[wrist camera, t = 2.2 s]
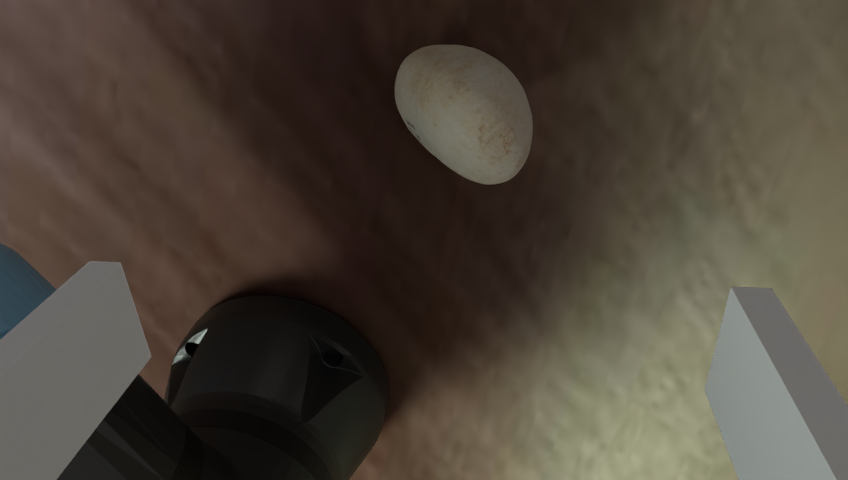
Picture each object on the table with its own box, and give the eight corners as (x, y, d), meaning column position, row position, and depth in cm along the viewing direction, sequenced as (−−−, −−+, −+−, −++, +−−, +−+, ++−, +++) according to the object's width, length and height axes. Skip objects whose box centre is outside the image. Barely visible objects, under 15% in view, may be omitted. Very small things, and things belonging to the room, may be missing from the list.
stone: (386, 58, 32) (329, 136, 22) (489, -12, 30) (479, 39, 20) (445, 146, 35) (418, 255, 24) (546, 87, 32) (563, 180, 22)
